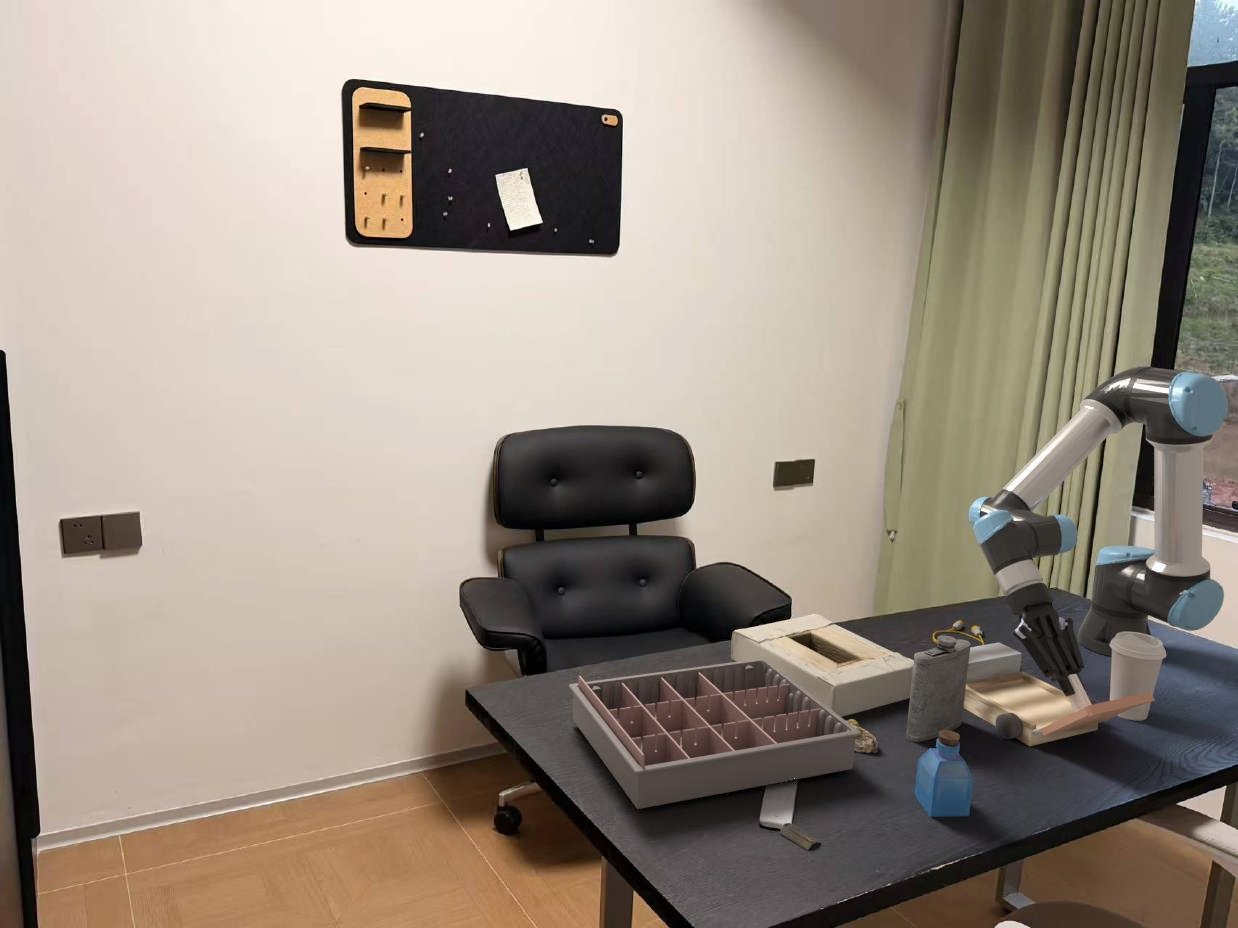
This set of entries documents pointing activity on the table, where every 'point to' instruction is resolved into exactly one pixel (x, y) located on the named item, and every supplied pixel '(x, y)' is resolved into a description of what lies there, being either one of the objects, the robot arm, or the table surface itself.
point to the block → (798, 836)
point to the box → (828, 662)
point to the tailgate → (1096, 713)
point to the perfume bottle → (944, 778)
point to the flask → (938, 689)
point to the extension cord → (958, 626)
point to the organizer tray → (709, 730)
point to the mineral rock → (864, 739)
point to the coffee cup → (1135, 669)
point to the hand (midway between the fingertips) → (1085, 712)
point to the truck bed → (1014, 696)
